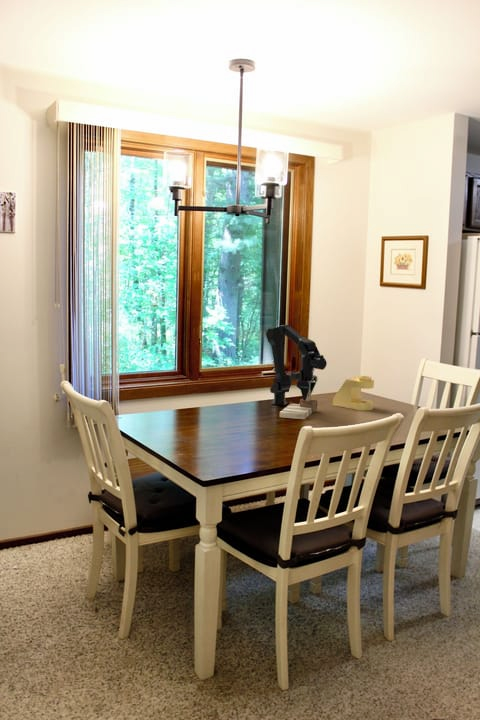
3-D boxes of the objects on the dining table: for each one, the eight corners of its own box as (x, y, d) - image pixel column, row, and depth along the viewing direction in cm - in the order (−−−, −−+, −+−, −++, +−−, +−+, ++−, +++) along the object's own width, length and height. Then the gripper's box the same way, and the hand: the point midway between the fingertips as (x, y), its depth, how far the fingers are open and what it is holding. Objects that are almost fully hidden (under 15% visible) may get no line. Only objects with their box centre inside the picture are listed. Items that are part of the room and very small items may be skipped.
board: (290, 408, 333) (291, 403, 332) (314, 410, 329) (314, 405, 328) (279, 417, 314) (279, 411, 314) (304, 419, 310) (304, 414, 310)
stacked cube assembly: (301, 408, 329) (301, 388, 328) (317, 409, 327) (317, 389, 325) (298, 410, 325) (299, 390, 323) (314, 412, 322) (315, 391, 321)
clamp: (376, 408, 334) (377, 377, 332) (366, 411, 327) (367, 379, 325) (342, 402, 348) (343, 372, 345) (332, 405, 341) (333, 374, 338)
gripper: (296, 363, 334) (295, 393, 337) (286, 368, 317) (285, 400, 319) (318, 364, 330) (317, 395, 333) (309, 370, 313) (308, 402, 315)
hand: (306, 398), depth 325 cm, fingers open, 9 cm apart
